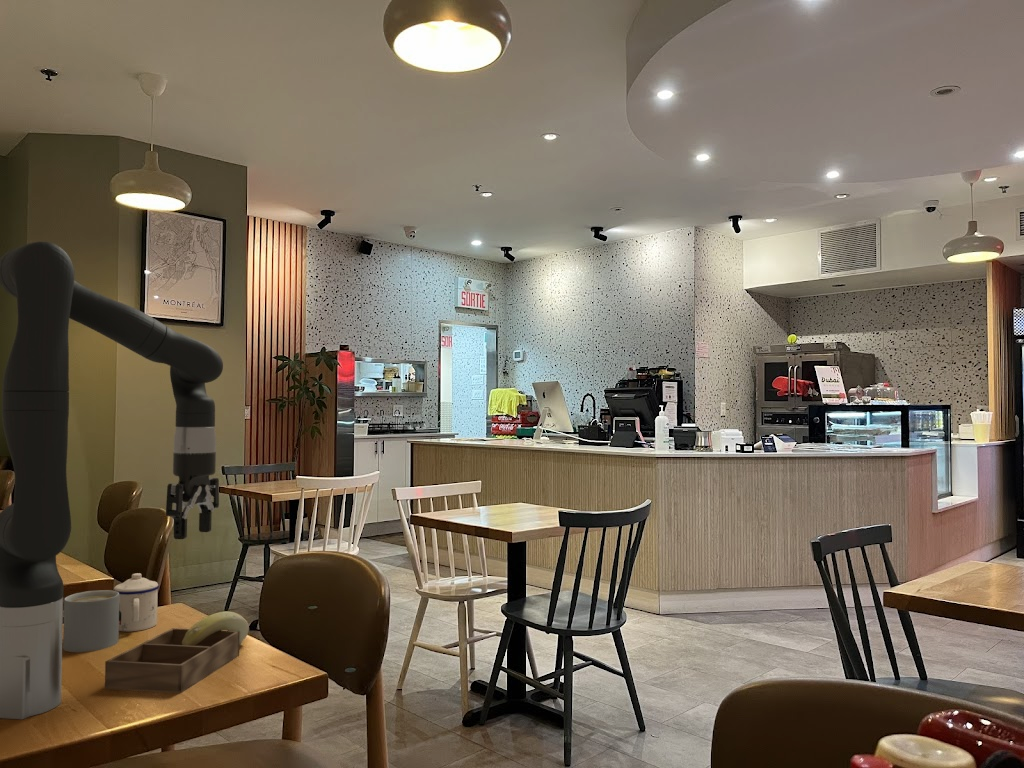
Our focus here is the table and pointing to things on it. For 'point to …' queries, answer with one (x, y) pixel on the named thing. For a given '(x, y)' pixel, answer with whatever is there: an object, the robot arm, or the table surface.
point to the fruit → (216, 627)
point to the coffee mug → (91, 621)
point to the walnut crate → (170, 662)
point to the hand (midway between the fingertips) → (193, 535)
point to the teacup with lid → (137, 603)
